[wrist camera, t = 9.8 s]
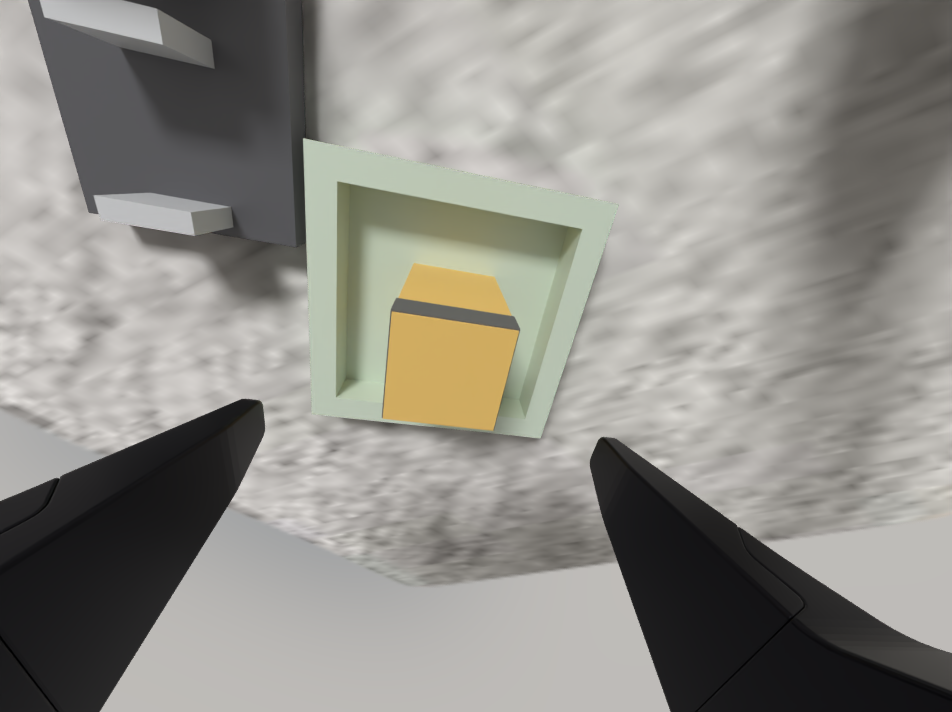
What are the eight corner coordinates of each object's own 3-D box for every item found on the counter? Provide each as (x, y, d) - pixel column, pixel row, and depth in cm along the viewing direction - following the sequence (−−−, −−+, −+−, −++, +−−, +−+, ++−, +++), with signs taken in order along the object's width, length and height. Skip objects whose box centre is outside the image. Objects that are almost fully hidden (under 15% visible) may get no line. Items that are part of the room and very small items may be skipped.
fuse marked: (495, 276, 17) (520, 330, 11) (480, 349, 19) (494, 432, 13) (412, 261, 17) (390, 310, 10) (404, 338, 18) (381, 419, 12)
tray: (596, 200, 17) (618, 204, 14) (531, 412, 22) (540, 438, 20) (325, 144, 15) (303, 138, 13) (326, 388, 20) (311, 414, 18)
